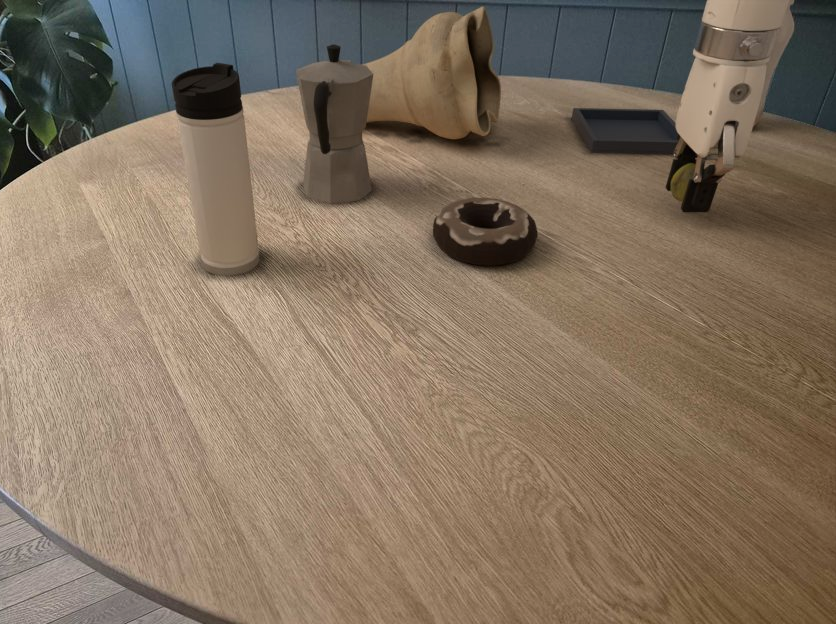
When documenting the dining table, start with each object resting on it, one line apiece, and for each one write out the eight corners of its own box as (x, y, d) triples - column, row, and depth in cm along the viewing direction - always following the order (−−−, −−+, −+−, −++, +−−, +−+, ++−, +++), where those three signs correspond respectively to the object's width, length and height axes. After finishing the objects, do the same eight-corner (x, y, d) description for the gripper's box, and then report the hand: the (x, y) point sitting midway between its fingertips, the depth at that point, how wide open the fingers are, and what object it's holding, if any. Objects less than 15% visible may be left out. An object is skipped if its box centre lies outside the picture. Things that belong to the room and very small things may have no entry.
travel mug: (272, 254, 74) (254, 67, 62) (239, 282, 69) (212, 86, 57) (225, 242, 76) (199, 59, 64) (190, 269, 71) (154, 76, 59)
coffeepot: (313, 168, 93) (306, 29, 82) (379, 172, 92) (381, 33, 81) (286, 217, 81) (273, 63, 70) (361, 223, 80) (361, 67, 69)
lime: (670, 192, 84) (681, 154, 81) (710, 201, 82) (723, 162, 78) (660, 205, 81) (671, 166, 78) (701, 215, 79) (715, 176, 76)
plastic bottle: (706, 119, 110) (749, -16, 98) (747, 120, 110) (796, -15, 98) (720, 133, 105) (768, -8, 93) (763, 134, 105) (817, -7, 93)
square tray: (659, 122, 109) (663, 109, 108) (689, 156, 97) (694, 142, 96) (570, 120, 109) (573, 107, 108) (590, 154, 98) (593, 140, 97)
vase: (272, 52, 92) (466, 14, 81) (324, -4, 106) (496, -43, 95) (322, 186, 107) (493, 170, 95) (363, 121, 120) (516, 100, 109)
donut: (532, 278, 70) (538, 245, 68) (423, 264, 72) (425, 232, 70) (536, 228, 79) (542, 197, 77) (439, 217, 81) (441, 187, 79)
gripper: (809, 64, 63) (745, 234, 74) (738, 23, 76) (693, 172, 88) (729, 65, 63) (677, 233, 75) (672, 23, 77) (636, 172, 88)
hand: (686, 199), depth 81 cm, fingers closed on lime, 5 cm apart
